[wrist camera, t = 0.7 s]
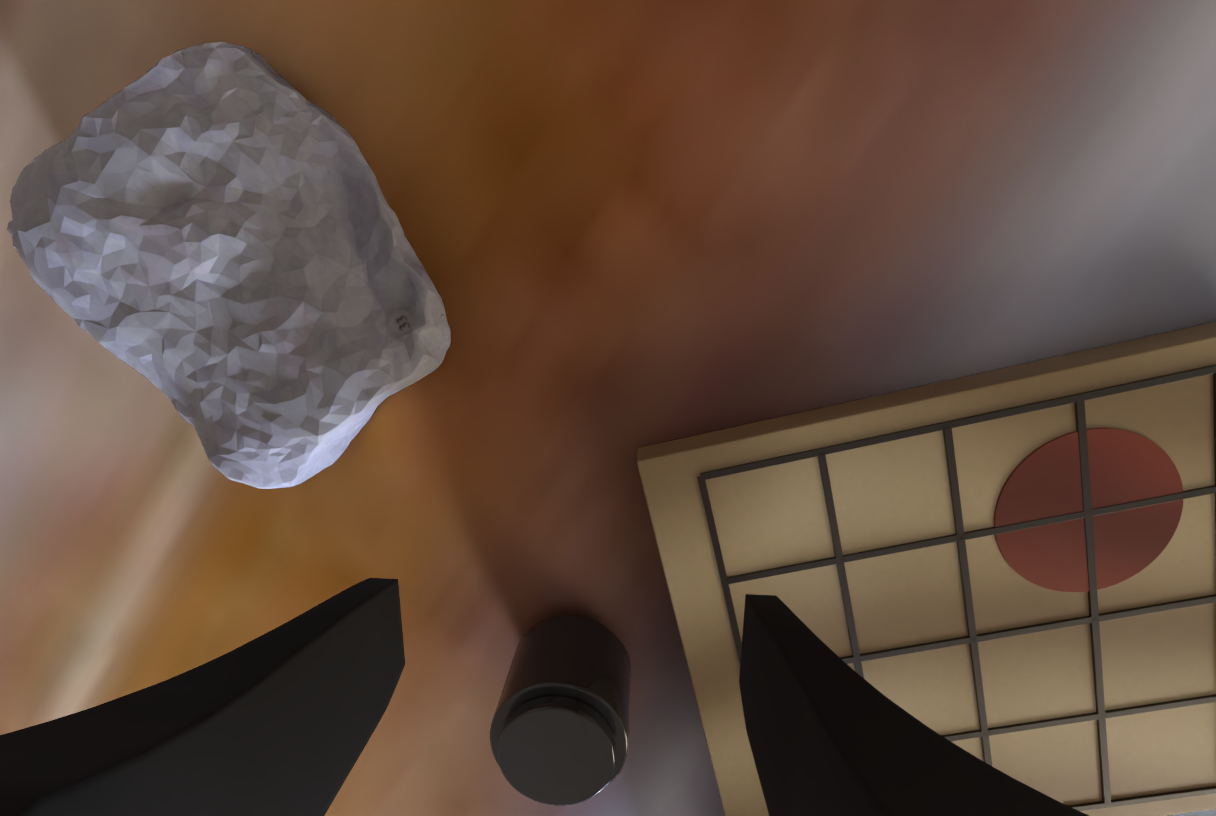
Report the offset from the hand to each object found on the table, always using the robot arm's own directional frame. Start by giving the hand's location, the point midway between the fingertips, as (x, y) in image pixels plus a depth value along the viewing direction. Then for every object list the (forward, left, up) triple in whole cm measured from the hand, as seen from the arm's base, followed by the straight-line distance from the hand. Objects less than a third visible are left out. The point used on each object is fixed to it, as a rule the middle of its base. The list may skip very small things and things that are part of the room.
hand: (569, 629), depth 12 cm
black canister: (-8, +3, -10) cm, 13 cm away
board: (-9, -11, -10) cm, 17 cm away
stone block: (+9, +9, -10) cm, 16 cm away
